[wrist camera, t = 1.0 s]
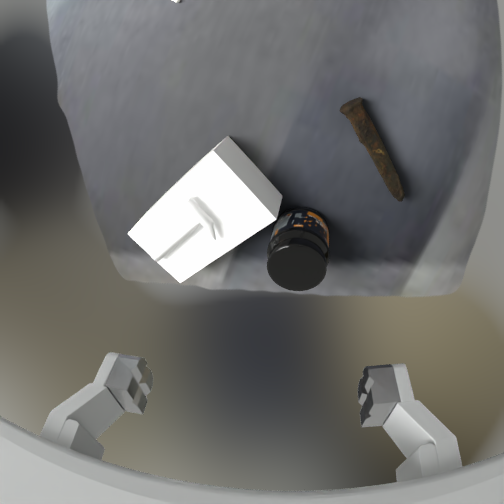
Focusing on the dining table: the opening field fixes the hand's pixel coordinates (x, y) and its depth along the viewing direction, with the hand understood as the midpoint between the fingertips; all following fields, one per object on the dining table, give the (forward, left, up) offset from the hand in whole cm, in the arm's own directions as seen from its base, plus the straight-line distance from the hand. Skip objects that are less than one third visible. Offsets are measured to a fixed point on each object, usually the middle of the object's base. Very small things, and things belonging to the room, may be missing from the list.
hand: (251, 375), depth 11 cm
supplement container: (+18, +13, -45) cm, 50 cm away
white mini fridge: (+25, -4, -45) cm, 52 cm away
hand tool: (-3, +13, -45) cm, 47 cm away
